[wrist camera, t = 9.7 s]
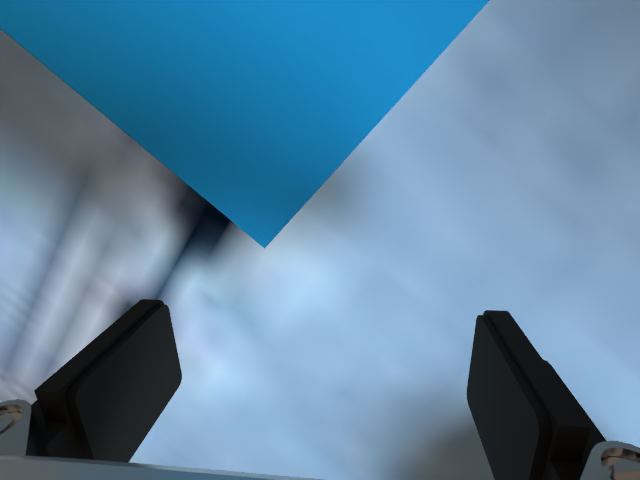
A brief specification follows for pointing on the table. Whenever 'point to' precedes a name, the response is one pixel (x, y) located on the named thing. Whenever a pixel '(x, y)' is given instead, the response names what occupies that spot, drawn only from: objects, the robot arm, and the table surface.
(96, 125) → the table surface
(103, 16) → the book
